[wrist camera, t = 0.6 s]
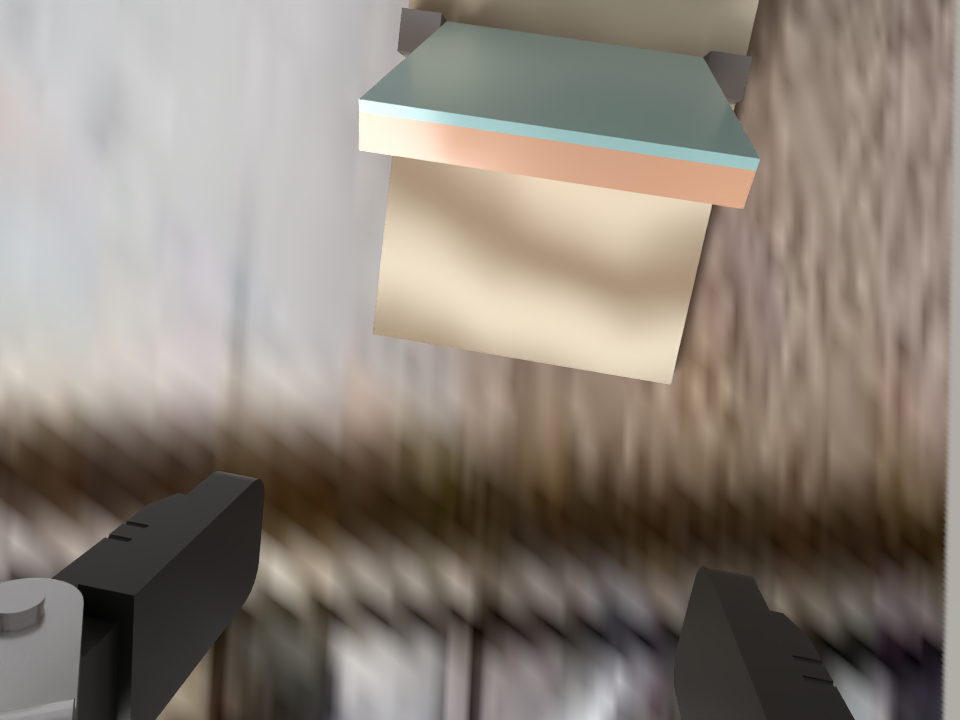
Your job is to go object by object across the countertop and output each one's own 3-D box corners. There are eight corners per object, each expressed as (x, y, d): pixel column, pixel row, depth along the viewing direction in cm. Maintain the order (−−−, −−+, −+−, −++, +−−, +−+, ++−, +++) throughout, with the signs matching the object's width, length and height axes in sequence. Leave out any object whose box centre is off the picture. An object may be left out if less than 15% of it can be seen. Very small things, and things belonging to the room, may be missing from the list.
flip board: (451, -316, 27) (440, -371, 25) (815, -275, 26) (845, -328, 24) (378, 328, 34) (363, 341, 31) (666, 377, 33) (676, 394, 30)
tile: (450, 50, 29) (452, 16, 28) (690, 84, 29) (699, 50, 28) (359, 150, 18) (359, 99, 18) (742, 208, 18) (760, 158, 17)
